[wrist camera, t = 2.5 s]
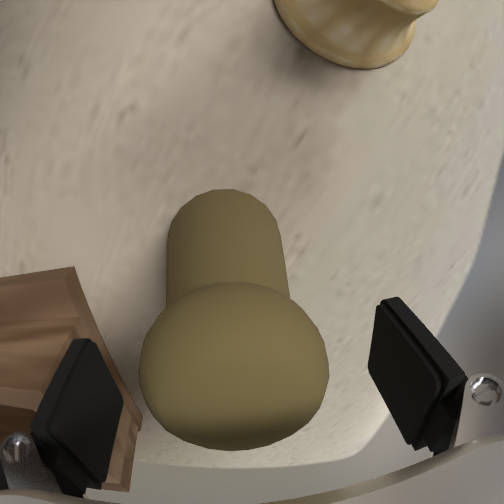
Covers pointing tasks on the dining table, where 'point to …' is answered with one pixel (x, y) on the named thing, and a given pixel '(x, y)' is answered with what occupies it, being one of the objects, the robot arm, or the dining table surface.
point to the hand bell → (355, 28)
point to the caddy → (52, 356)
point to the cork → (230, 332)
